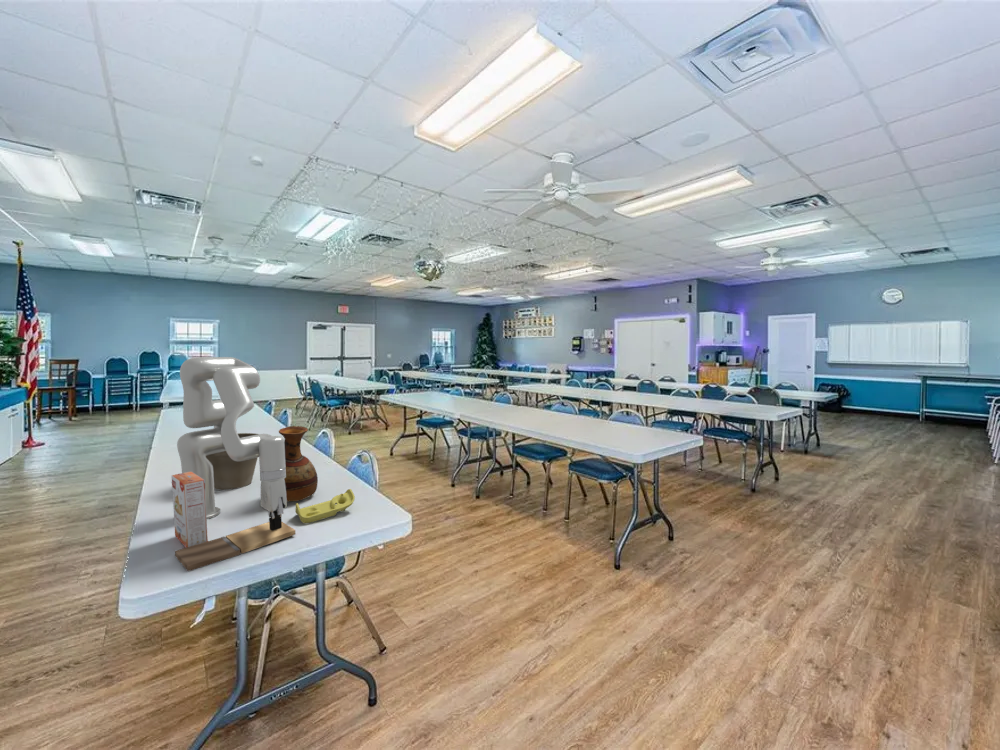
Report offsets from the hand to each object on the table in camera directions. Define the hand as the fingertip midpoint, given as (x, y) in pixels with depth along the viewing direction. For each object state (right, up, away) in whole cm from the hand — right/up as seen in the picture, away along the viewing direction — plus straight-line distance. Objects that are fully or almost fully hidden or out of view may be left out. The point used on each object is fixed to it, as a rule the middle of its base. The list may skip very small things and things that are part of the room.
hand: (275, 528), depth 141 cm
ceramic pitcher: (-12, 0, +36) cm, 38 cm away
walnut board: (-13, -3, -14) cm, 19 cm away
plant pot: (-48, 0, +53) cm, 71 cm away
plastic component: (+9, -2, +18) cm, 20 cm away
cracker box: (-26, -3, -4) cm, 26 cm away
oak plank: (-3, -2, -3) cm, 5 cm away
